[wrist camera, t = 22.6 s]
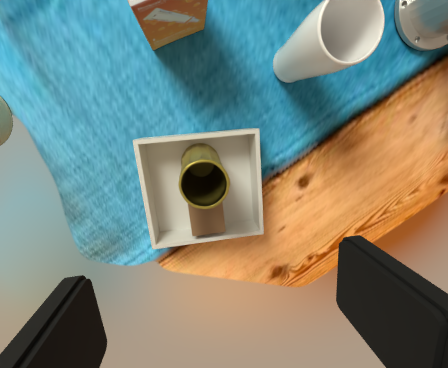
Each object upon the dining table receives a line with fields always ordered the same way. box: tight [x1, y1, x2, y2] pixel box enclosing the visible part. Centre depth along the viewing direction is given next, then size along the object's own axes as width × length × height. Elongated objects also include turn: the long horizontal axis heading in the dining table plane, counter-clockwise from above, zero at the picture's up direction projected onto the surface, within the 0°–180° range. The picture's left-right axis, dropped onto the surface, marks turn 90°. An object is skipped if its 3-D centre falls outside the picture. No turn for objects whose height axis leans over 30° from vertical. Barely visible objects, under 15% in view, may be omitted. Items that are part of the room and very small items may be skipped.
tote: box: [133, 128, 264, 249], centre depth 36 cm, size 17×16×5 cm
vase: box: [178, 143, 230, 209], centre depth 30 cm, size 6×6×14 cm
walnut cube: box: [188, 202, 226, 236], centre depth 37 cm, size 5×5×5 cm
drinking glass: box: [273, 0, 384, 83], centre depth 29 cm, size 7×7×15 cm
